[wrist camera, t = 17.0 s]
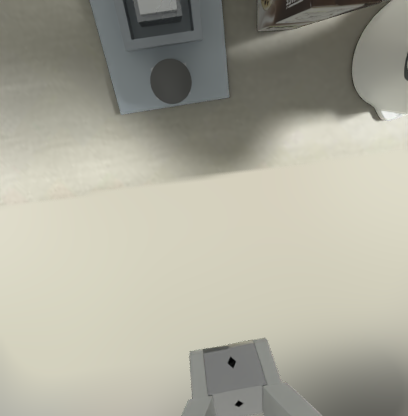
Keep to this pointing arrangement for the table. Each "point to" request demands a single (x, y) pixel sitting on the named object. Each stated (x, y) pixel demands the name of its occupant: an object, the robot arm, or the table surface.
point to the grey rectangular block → (157, 12)
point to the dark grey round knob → (170, 81)
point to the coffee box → (302, 12)
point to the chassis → (162, 51)
